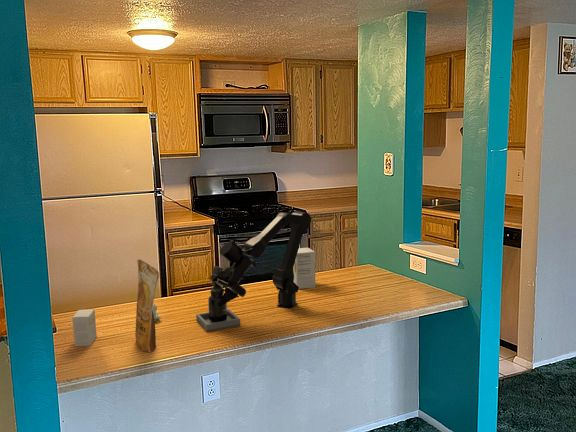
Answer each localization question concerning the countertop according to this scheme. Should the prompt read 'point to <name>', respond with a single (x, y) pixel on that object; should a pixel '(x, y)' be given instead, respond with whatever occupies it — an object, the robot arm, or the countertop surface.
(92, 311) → the small box
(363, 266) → the countertop surface
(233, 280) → the robot arm
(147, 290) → the pancake mix bag
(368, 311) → the countertop surface
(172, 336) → the countertop surface
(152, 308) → the pacifier
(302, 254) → the supplement box
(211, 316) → the supplement bottle
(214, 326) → the tray
